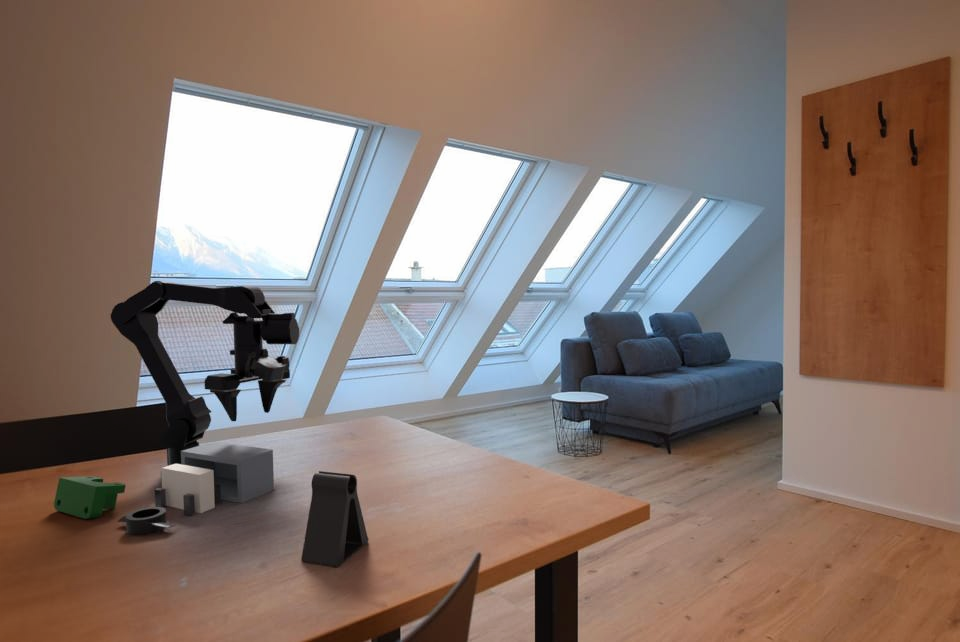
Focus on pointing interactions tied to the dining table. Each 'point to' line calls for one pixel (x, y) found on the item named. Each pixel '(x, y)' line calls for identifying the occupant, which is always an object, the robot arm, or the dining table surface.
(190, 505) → the clip brackets
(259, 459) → the cabinet
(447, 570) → the dining table surface
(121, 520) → the dark grey tabbed ring
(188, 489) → the white block
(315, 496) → the phone stand
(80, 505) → the clamp
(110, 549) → the dining table surface
